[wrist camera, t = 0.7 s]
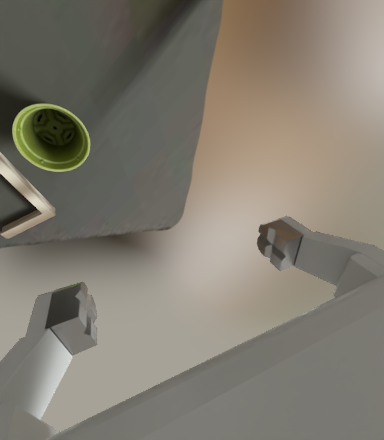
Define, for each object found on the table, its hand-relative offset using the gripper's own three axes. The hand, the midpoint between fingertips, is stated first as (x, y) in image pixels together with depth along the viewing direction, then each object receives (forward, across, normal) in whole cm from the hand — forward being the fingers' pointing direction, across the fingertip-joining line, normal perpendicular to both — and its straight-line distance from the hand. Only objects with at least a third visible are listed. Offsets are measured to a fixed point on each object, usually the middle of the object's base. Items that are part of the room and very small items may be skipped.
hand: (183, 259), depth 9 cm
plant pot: (+39, +10, -2) cm, 40 cm away
